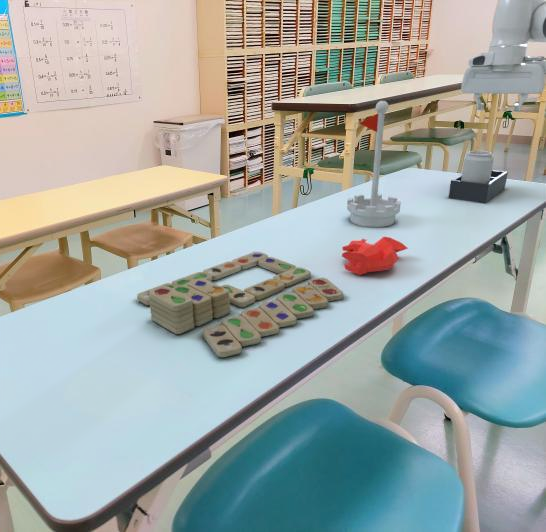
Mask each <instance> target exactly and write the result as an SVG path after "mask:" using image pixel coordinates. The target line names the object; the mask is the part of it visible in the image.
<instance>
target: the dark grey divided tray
mask: <svg viewBox="0 0 546 532" xmlns="http://www.w3.org/2000/svg"><path fill="white" fill-rule="evenodd" d="M508 173H509V171H506V170H505V171H504V170H493V169H492V172H491V177H490V182H489V183H487V184H483V183H475V182H466V181H461V177H462V173H461V174H459V175H458V176H456V177H454V178H452V179H451V180H450V184H449V191H448V199H452V200H458V201H459V200H460V201H467V202H474V203H481V204H487V203H489V201H491V200H492V199H493V198H495V197H496V196H497V195H498V194H500V193H501V192H503V191H504V190H505V189H506V184H507V179H508Z"/></svg>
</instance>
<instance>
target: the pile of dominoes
mask: <svg viewBox="0 0 546 532" xmlns="http://www.w3.org/2000/svg"><path fill="white" fill-rule="evenodd" d="M255 266H258V267H260V268H263V269H265V270H268V271H270V272H273V273H276V275H273V277H272V278H268V279H265V280H263V281H261V282H259V283H256V284H254V285H251V286H249V287H246V288H244V290H242V289H241V288H237V287H235V286H233V285H230V284H222V285H219V284H216V283H214V282H213V281H217V280H219V279H222V278H225V277H228V276H231V275H233V274H236V273H239V272H240V271H241V270H247V269H248V270H249V269H250V268H253V267H255ZM311 277H312V272H311V270H308V269H306V268H303V267H300V266H296V265H295V264H292V263H289V262H287V261H285V260H281V259H278V258H275V257H273V256H269V255H268V254H266V253H263V252H261V251H252V252H250V253H247V254H245V255H241V256H239V257H238V258H234V259H232V260H231V261H226V262H223V263H220V264H217V265H214V266H212V267H209V268H205V269H203V270H202V271H198V272H195V273H192V274H190V275H186V276H184V277H181V278H178V279H175V280H172V282H166V283H163V284H161V285H158V286H155V287H152V288H150V289H146V290H145V291H142V292H139V293H138V294H137V295H136V296H137V297H136V299H137V301H138V302H140V303H142V304H144V305H145V306H149V309H150V319H151V320H152V321H153V322H154V323H156V324H158V325H159V326H161V327H162V328H165V329H166V330H168V331H170V332H171V333H174V334H175V335H181V334H183V333H186V332H188V331H190V330H193V329H194V328H195V326H196V327H198V326H199V327H200V326H202V325H205V324H207V323H209V322H212V320H213V319H219V318H221V317H224V316H226V315H228V314H230V313H231V311H232V310H231V304H232V305H234V306H236V307H239V308H245V307H247V306H250V305H252V304H254V303H255V302H256V301H260V300H263V299H266V298H268V297H271V296H273V295H275V294H277V295H276V297H275V299H273V300H267V301H263V302H260V303H259V304H258V307H254V308H253V307H252V308H248V309H244V310H242V311H240V313H239V315H234V316H229V317H225V318H223V319H221V324H217V325H212V326H208V327H205V328H203V329H202V337H203V339H204V340H205V342H206V343H207V345H209V347H210V348H211V350H212V351H213V352H214V354H215V355H216V357H219V358H226V357H232V356H234V355H239V354H241V353H242V350H243V347H246V346H252V345H256V344H260V343H261V341H262V337H267V336H272V335H276V334H279V333H280V328H284V327H290V326H294V325H296V324H297V322H298V319H305V318H309V317H310V318H311V317H312V316H314V312H315V311H314V310H318V309H324V308H328V306H329V302H333V301H339V300H340V301H341V300H343V299H344V292H343V291H342V290H341V289H340V288H339V287H338V286H336V285H335V284H334V283H332V282H331V281H330V280H329V279H328V278H326V277H316V278H311ZM304 280H307V284H302V285H296V284H299V283H300V282H303V281H304ZM291 286H293V287H291ZM290 287H291V292H287V293H286V292H285V293H281V294H278V293H279V292H282V291H284V290H285V288H290Z"/></svg>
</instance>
